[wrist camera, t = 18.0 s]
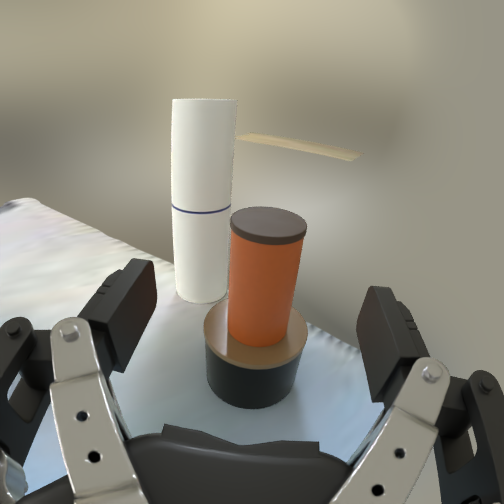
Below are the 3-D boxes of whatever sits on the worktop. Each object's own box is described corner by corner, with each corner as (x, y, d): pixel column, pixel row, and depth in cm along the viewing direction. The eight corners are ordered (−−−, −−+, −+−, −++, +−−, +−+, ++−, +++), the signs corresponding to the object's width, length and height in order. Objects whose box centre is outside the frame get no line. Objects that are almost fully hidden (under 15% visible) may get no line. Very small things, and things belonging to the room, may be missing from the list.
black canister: (187, 377, 28) (181, 328, 25) (240, 331, 35) (244, 283, 32) (262, 426, 24) (272, 383, 21) (309, 366, 31) (324, 319, 27)
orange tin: (213, 328, 25) (214, 219, 21) (250, 299, 29) (258, 201, 25) (266, 358, 23) (283, 245, 18) (298, 322, 27) (319, 220, 22)
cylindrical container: (169, 299, 39) (162, 99, 27) (184, 271, 45) (184, 98, 33) (221, 307, 39) (231, 100, 27) (230, 277, 45) (241, 100, 33)
